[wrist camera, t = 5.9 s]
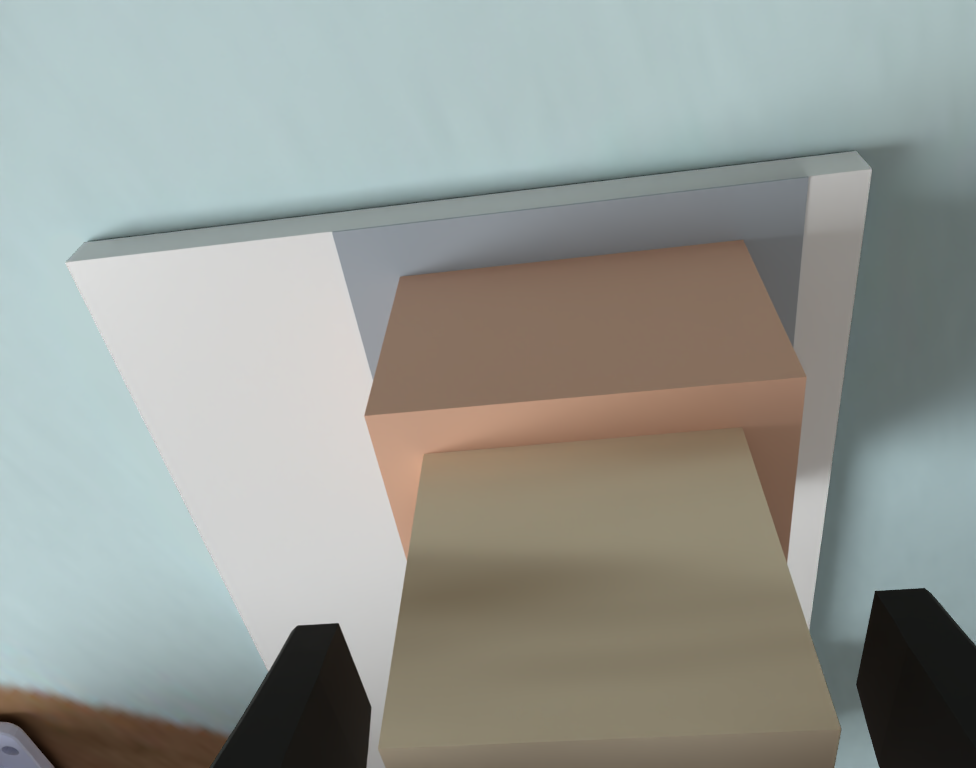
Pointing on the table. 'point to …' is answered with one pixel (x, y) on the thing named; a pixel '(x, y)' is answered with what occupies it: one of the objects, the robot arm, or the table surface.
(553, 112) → the table surface
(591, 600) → the maple block
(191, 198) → the table surface
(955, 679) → the robot arm
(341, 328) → the mat
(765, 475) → the terracotta block
